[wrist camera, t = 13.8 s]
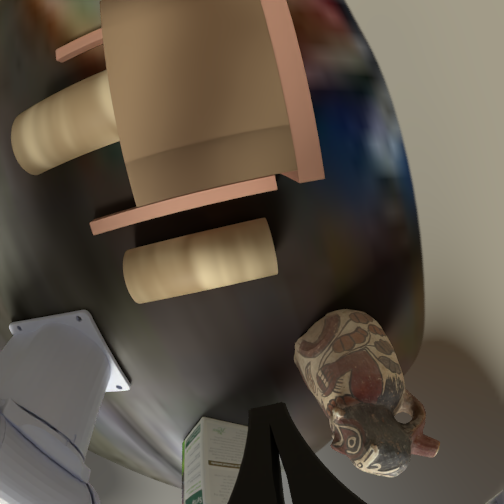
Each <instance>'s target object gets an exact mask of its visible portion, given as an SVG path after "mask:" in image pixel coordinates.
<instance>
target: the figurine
mask: <svg viewBox="0 0 504 504" xmlns="http://www.w3.org/2000/svg"><path fill="white" fill-rule="evenodd" d="M294 362H295V363H296V365H297V367H298V369H299V371H300V373H301V376H302V378H303V380H304V382H305V384H306V385H307V387H308V389H309V390H310V391H311V392H312V393H313V394H314V396H315V397H316V399H317V401H318V403H319V405H320V406H321V408H322V410H323V411H324V413H325V414H326V416H327V417H328V418H329V419H330V420H329V421H330V427H331V430H332V432H333V433H332V437H333V442H332V444H331V447H332V449H334V450H335V451H338V452H340V453H342V454H345V455H347V456H348V457H349V458H350V460H351V461H352V463H353V464H354V465H355V466H356V467H357V468H358V469H360V470H362V471H365V472H367V473H370V474H374V475H379V476H387V477H395V476H397V475H399V474H400V473H401V472H403V471H404V470H405V469H406V467H407V466H408V465H409V462H410V456H411V454H416V455H421V456H426V457H431V458H432V457H434V456H435V455H436V454H437V452H438V450H439V445H440V442H439V441H437V440H435V439H433V438H430V437H428V436H426V435H424V434H423V428H424V425H425V414H426V412H425V409H424V406H423V405H422V404H421V403H420V401H418V399H416V398H415V397H414V396H413V395H412V394H411V393H409V392H408V391H407V390H406V388H405V383H404V378H403V374H402V371H401V368H400V365H399V363H398V360H397V357H396V354H395V351H394V349H393V347H392V345H391V343H390V341H389V339H388V338H387V336H386V335H385V333H384V331H383V329H382V328H381V326H380V325H379V324H378V322H377V321H376V320H375V319H373V318H372V317H371V316H369V315H368V314H366V313H365V312H362V311H357V310H350V309H341V310H336V311H333V312H330V313H328V314H326V315H325V316H324V317H323V318H322V319H320V320H319V321H317V322H316V323H314V325H313V326H312V327H311V328H310V329H309V330H308V331H307V333H305V334H304V335H303V336H302V337H300V338H299V339H298V340H297V342H296V343H295V355H294ZM399 412H406V413H408V414H410V415H411V417H412V420H411V421H410V422H408V423H406V424H402V423H399V422H397V421H396V419H395V418H394V416H395V415H396V414H397V413H399Z"/></svg>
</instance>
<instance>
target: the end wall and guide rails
mask: <svg viewBox="0 0 504 504" xmlns="http://www.w3.org/2000/svg"><path fill="white" fill-rule="evenodd" d="M260 1H261V5H262V8H263V12H264V16H265V19H266V23H267V27H268V31H269V35H270V39H271V43H272V47H273V51H274V55H275V59H276V63H277V68H278V72H279V77H280V81H281V86H282V90H283V95H284V100H285V104H286V109H287V114H288V119H289V124H290V129H291V135H292V140H293V146H294V151H295V157H296V162H297V168H298V170H296V171H290V172H285V173H281V174H283V175H285V176H287V177H289V178H291V179H293V180H294V181H296V182H298V183H303V182H309V181H314V180H320V179H325V176H324V169H323V163H322V156H321V150H320V144H319V138H318V132H317V127H316V121H315V116H314V111H313V106H312V101H311V96H310V91H309V87H308V82H307V77H306V73H305V69H304V64H303V60H302V56H301V52H300V48H299V44H298V40H297V36H296V33H295V29H294V25H293V22H292V18H291V15H290V11H289V8H288V5H287V1H286V0H260ZM101 44H103V36H102V28H100V29H98V30H95V31H93V32H91V33H89V34H87V35H84V36H82V37H80V38H78V39H76V40H74V41H72V42H70V43H68V44H66V45H64V46H62V47H60V48H59V49H57V50H56V60H57V61H59V62H61V63H63V62H65V61H67V60H69V59H71V58H73V57H75V56H77V55H79V54H81V53H83V52H85V51H87V50H90V49H92V48H94V47H96V46H99V45H101ZM273 190H277V184H276V179H275V175H269V176H264V177H259V178H254V179H249V180H244V181H240V182H235V183H231V184H226V185H222V186H217V187H213V188H209V189H205V190H200V191H196V192H192V193H188V194H184V195H180V196H177V197H173V198H169V199H165V200H161V201H158V202H154V203H150V204H147V205H143V206H140V207H137V206H136V207H133V208H130V209H126V210H123V211H119V212H116V213H113V214H110V215H106V216H103V217H100V218H97V219H94V220H93V221H91V222H90V223H89V224H90V227H91V230H92V233H93V235H97V234H100V233H103V232H107V231H110V230H114V229H117V228H121V227H124V226H128V225H131V224H135V223H138V222H142V221H146V220H150V219H153V218H157V217H161V216H165V215H169V214H172V213H176V212H180V211H184V210H188V209H192V208H197V207H201V206H205V205H209V204H213V203H218V202H222V201H226V200H231V199H235V198H240V197H244V196H249V195H254V194H258V193H263V192H268V191H273Z"/></svg>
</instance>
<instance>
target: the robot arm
mask: <svg viewBox="0 0 504 504" xmlns="http://www.w3.org/2000/svg"><path fill="white" fill-rule="evenodd" d="M78 316H79V317H81V319H80V318H79V317H78ZM9 329H10V331H11V332H12V334H13V337H12V338H11V339H10V340H9V342H8V343H7V344H6V346H5V347H4V348H3V349H2V351H1V352H0V504H101V502H100V499H99V496H98V494H97V492H96V490H95V489H94V487H93V486H92V485H91V484H90V483H89V477H90V473H91V470H90V469H89V468H88V467H87V466H86V465H85V464H84V461H85V457H86V453H87V450H88V446H89V442H90V439H91V435H92V432H93V429H94V425H95V422H96V419H97V416H98V412H99V409H100V406H101V403H102V400H103V397H104V394H105V392H112V391H127V390H129V389H130V386H131V385H130V383H129V381H128V380H127V378H126V376H125V375H124V373H123V372H122V370H121V368H120V367H119V365H118V363H117V362H116V360H115V358H114V357H113V355H112V353H111V351H110V350H109V348H108V346H107V344H106V342H105V341H104V339H103V337H102V335H101V333H100V331H99V329H98V328H97V326H96V324H95V322H94V320H93V318H92V316H91V314H90V313H89V312H88V311H87V310H78V311H73V312H67V313H62V314H57V315H51V316H46V317H40V318H34V319H29V320H23V321H17V322H12V323H11V324H10V325H9ZM279 455H280V458H281V461H282V464H283V466H284V469H285V472H286V475H287V479H288V484H289V488H290V493H291V498H292V502H293V504H367V503H366V502H364V501H363V500H361V499H360V498H359V497H358V496H357V495H355V494H354V493H353V492H352V491H350V490H349V489H348V488H347V487H346V486H345V485H344V484H342V483H341V482H340V481H339V480H338V479H337V478H336V477H335V476H334V475H333V474H332V473H331V472H330V471H329V470H328V469H327V468H326V467H325V465H324V464H323V463H322V462H321V461H320V459H319V458H318V457H317V456H316V455H315V453H314V452H313V451H312V450H311V448H310V447H309V446H308V444H307V443H306V441H305V440H304V438H303V437H302V436H301V434H300V432H299V431H298V429H297V428H296V426H295V424H294V422H293V420H292V419H291V417H290V414H289V412H288V410H287V407H286V404H285V403H283V402H281V403H276V404H272V405H267V406H263V407H258V408H253V409H250V410H249V423H248V432H247V439H246V444H245V449H244V454H243V459H242V462H241V466H240V469H239V473H238V476H237V479H236V482H235V485H234V488H233V491H232V493H231V496H230V498H229V501H228V503H227V504H285V502H284V495H283V487H282V477H281V468H280V459H279ZM485 504H504V489H503V490H502V491H500V492H499V493H498V494H497V495H496V496H494V497H493V498H492V499H490V500H489V501H488V502H487V503H485Z"/></svg>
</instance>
